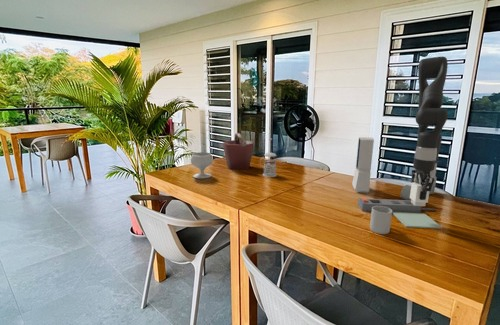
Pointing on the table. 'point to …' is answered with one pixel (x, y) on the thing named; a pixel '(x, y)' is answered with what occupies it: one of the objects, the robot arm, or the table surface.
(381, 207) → the cup
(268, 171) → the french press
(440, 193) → the table surface
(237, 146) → the bucket
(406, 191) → the ceramic mug
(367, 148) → the electronic device
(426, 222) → the rubber mat
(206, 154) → the chalice
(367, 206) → the power strip
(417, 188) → the block
